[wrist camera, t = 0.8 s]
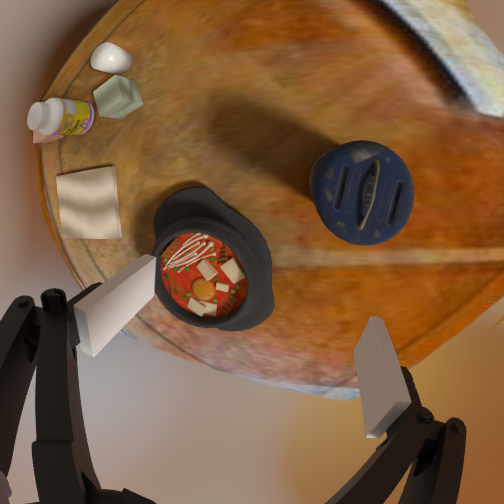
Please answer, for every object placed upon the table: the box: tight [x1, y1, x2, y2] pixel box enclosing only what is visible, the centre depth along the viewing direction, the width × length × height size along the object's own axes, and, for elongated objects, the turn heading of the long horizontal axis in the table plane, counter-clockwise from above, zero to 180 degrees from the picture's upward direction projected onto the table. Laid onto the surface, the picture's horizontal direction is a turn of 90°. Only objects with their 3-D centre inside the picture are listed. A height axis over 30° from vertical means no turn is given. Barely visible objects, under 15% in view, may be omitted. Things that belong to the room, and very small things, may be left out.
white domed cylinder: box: [91, 42, 133, 75], centre depth 33 cm, size 5×5×6 cm
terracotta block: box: [33, 130, 63, 143], centre depth 40 cm, size 5×5×5 cm
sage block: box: [93, 75, 143, 119], centre depth 35 cm, size 5×5×6 cm
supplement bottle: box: [27, 98, 94, 135], centre depth 34 cm, size 7×7×13 cm
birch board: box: [56, 166, 122, 239], centre depth 45 cm, size 13×16×1 cm
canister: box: [309, 140, 414, 245], centre depth 29 cm, size 10×10×18 cm
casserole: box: [151, 187, 275, 331], centre depth 41 cm, size 25×19×8 cm
